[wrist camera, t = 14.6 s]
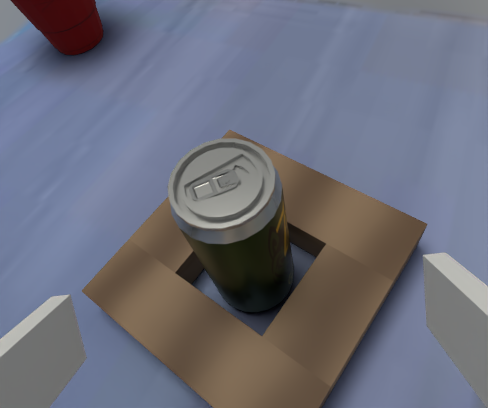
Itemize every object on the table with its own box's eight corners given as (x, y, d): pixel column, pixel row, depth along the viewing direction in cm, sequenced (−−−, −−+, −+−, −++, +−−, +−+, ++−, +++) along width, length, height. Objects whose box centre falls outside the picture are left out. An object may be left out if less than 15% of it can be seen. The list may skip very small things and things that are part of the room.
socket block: (102, 304, 29) (81, 290, 26) (236, 153, 34) (229, 129, 32) (286, 466, 22) (282, 468, 19) (417, 245, 27) (427, 224, 25)
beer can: (233, 328, 26) (180, 253, 16) (208, 259, 29) (151, 160, 19) (307, 296, 27) (301, 203, 17) (275, 231, 30) (254, 119, 19)
